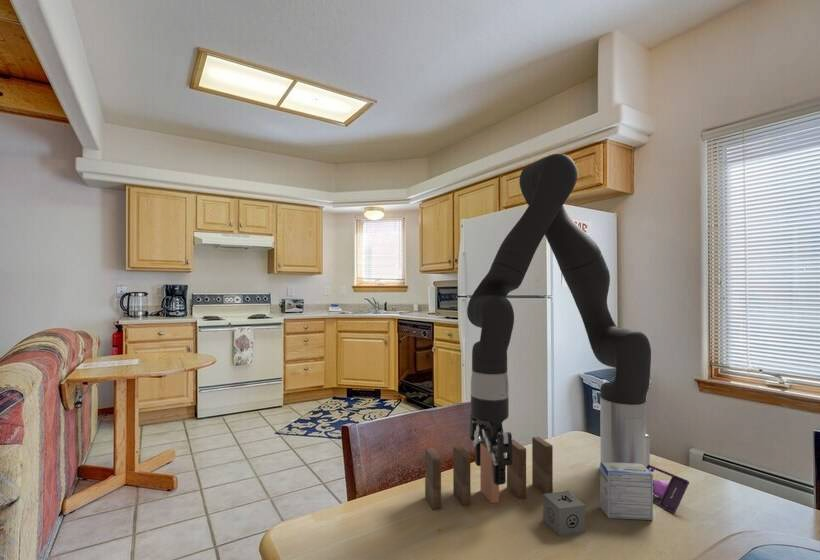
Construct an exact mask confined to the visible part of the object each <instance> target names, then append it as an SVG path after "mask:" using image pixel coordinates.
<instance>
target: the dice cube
mask: <svg viewBox="0 0 820 560" xmlns="http://www.w3.org/2000/svg"><path fill="white" fill-rule="evenodd" d="M542 495H543V496H542V498H543V499H542V500H543V501H542V503H543V505H542V506H543V507H542V508H543V509H542V510H543V511H542V513H543V514H542V516H543V517H542V521H544V523H545V524H547V525H548V526H549V527H550V528H551V529H552V530H553V531H554V532H555V533H556V534H557V536H559V537H562V536H569V535H576V534H577V535H578V534H584V533H586V505H585V503H583V502H582V501H581V500H580V499H578V498H577V496H574V495H573V493H572V492H570V491H569V490H564V491H563V490H562V491H556V492H554V491H553V493H547V494H543V493H542Z"/></svg>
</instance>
